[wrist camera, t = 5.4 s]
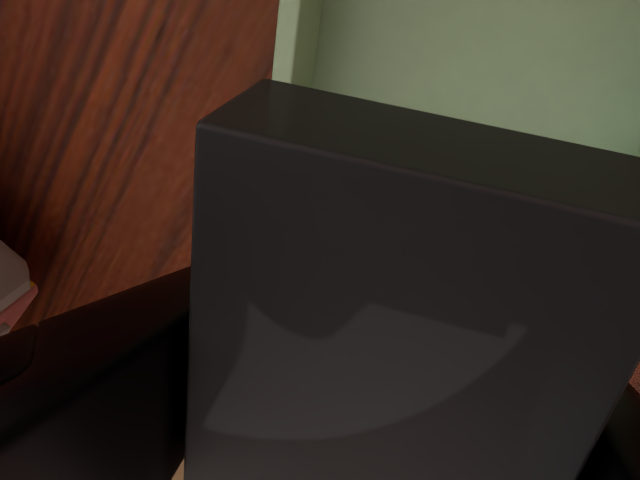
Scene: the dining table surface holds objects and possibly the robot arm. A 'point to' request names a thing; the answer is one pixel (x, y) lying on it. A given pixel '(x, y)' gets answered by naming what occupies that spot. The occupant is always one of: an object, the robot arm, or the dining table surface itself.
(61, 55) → the dining table surface
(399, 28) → the case
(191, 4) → the dining table surface
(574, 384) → the dark grey flat block
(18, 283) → the alarm clock
